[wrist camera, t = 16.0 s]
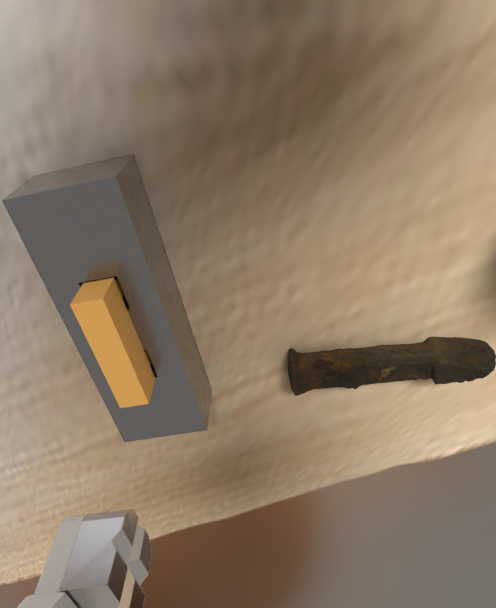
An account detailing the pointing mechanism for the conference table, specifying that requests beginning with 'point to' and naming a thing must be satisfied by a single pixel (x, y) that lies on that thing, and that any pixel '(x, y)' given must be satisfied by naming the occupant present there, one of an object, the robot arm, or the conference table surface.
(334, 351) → the hand tool
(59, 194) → the grey slotted block
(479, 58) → the conference table surface
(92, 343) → the orange slab
